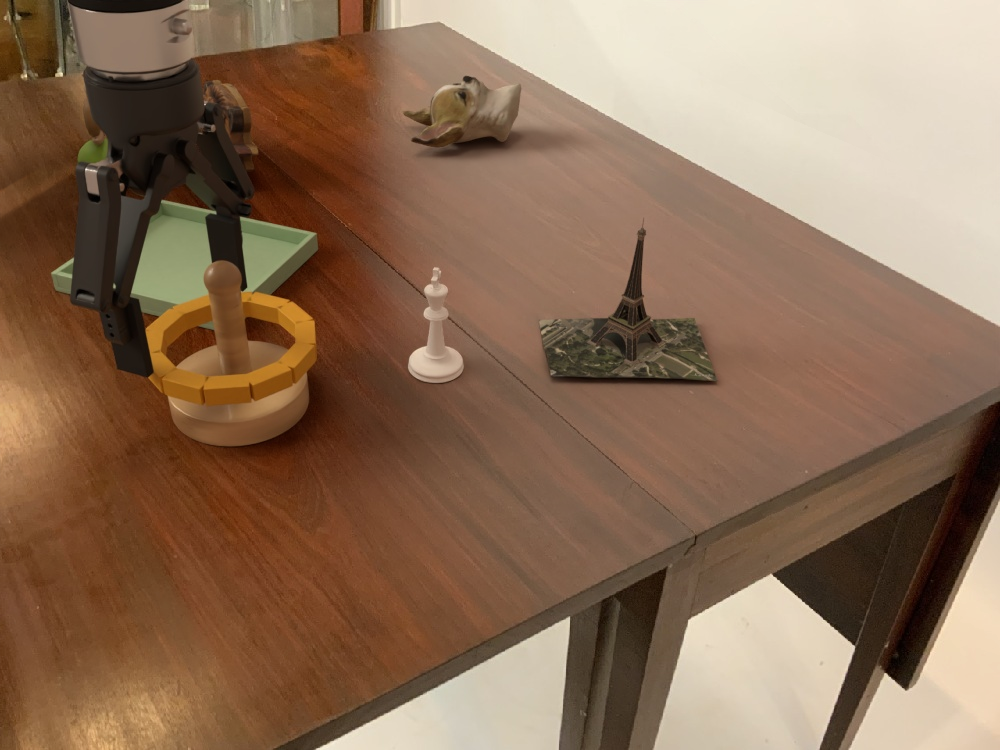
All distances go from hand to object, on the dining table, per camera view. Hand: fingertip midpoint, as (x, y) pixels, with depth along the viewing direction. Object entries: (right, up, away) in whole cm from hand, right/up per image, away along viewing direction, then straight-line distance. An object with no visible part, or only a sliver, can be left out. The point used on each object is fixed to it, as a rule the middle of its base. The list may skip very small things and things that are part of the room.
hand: (186, 326), depth 78 cm
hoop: (+4, -2, 0) cm, 4 cm away
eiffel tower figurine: (+37, -2, +11) cm, 38 cm away
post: (+4, -6, +3) cm, 8 cm away
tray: (-6, +7, +20) cm, 22 cm away
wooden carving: (-8, +21, +39) cm, 45 cm away
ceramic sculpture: (+20, +27, +49) cm, 59 cm away
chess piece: (+20, -3, +8) cm, 21 cm away
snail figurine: (-20, +18, +35) cm, 44 cm away
